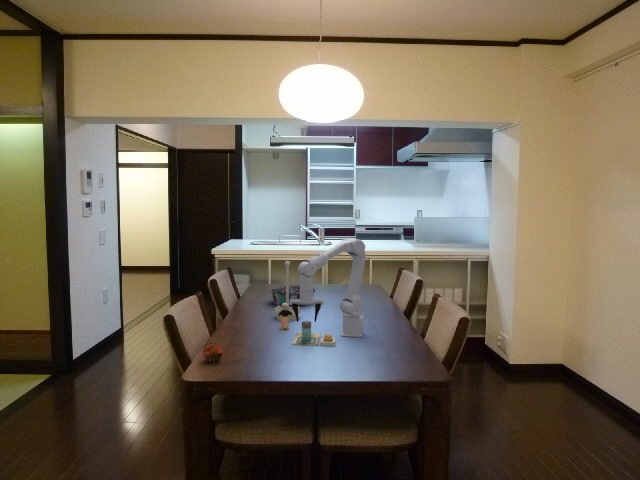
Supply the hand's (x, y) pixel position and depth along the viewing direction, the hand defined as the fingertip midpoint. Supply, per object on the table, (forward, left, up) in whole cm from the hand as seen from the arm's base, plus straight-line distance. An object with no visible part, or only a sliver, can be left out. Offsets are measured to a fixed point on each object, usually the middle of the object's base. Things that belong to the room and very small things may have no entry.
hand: (306, 321), depth 186 cm
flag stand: (+14, -37, -10) cm, 41 cm away
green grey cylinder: (0, 0, -9) cm, 9 cm away
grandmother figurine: (+12, -18, -10) cm, 24 cm away
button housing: (-9, +1, -9) cm, 13 cm away
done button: (-9, +1, -8) cm, 12 cm away
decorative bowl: (+16, -69, -10) cm, 71 cm away
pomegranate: (+33, +26, -10) cm, 43 cm away
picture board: (0, -3, -9) cm, 10 cm away
